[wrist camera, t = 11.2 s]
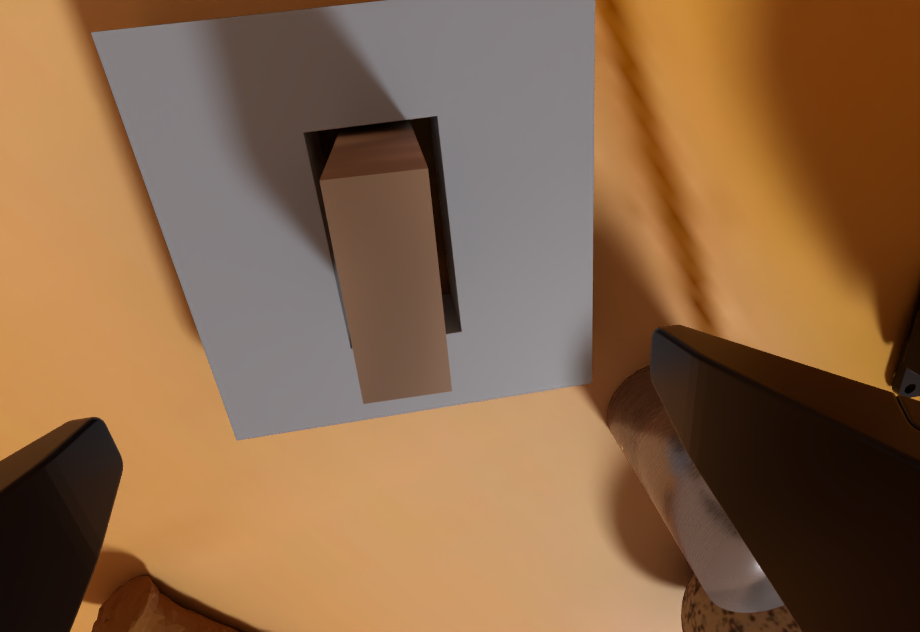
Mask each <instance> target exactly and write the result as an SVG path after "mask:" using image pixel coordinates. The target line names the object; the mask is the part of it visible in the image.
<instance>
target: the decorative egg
mask: <svg viewBox="0 0 920 632" xmlns="http://www.w3.org/2000/svg"><path fill="white" fill-rule="evenodd" d="M681 621H682V630H683V632H802V631H801V630H800V628H799V627H798V625H797V623H796V622H795V620H794V619H793V617H792V616H791V614H790V613H789V611H788V610H787V608H786V606H785V605H783V606H781V607H777V608H774V609H770V610H766V611H761V612H752V613H740V612H733V611H729V610H725V609H723V608H721V607H719V606H717V605H716V604H714V603H713V602H712V601H711V600H710V599H709V597H708V596H707V594H706V592H705V591H704V589H703V587H702V585H701V584H700V582H699V580H698V579H697V577H696V575H695V574H694V575H693V576H692V577H691V579H690V581H689V583H688V585H687V587H686V590H685V593H684V597H683V601H682V610H681Z"/></svg>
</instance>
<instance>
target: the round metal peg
mask: <svg viewBox="0 0 920 632" xmlns="http://www.w3.org/2000/svg"><path fill="white" fill-rule="evenodd" d="M607 422H608V426H609V429H610V431H611V433H612V434H613V436H614V438H615V440H616V441H617V443H618V445H619V446H620V448H621V450H622V451H623V453H624V455H625V456H626V458H627V460H628V462H629V463H630V465H631V467H632V468H633V470H634V472H635V473H636V475H637V477H638V479H639V480H640V482H641V484H642V485H643V487H644V489H645V490H646V492H647V494H648V496H649V497H650V499H651V501H652V502H653V504H654V506H655V507H656V509H657V511H658V512H659V514H660V516H661V518H662V519H663V521H664V523H665V524H666V526H667V528H668V529H669V531H670V533H671V535H672V536H673V538H674V540H675V541H676V543H677V545H678V546H679V548H680V550H681V552H682V553H683V555H684V557H685V558H686V560H687V562H688V563H689V565H690V567H691V569H692V570H693V572H694V574H695V575H696V577H697V579H698V580H699V582H700V584H701V585H702V587H703V589H704V591H705V592H706V594H707V596H708V597H709V599H710V600H711V601H712V602H713V603H714V604H716V605H717V606H719V607H721V608H723V609H725V610H729V611H733V612H740V613H752V612H761V611H766V610H770V609H774V608H777V607H781V606H783V605H784V603H783V602H782V600H781V599H780V597H779V596H778V594H777V592H776V591H775V589H774V588H773V586H772V585H771V583H770V582H769V580H768V579H767V577H766V575H765V574H764V572H763V571H762V569H761V568H760V566H759V565H758V563H757V562H756V560H755V558H754V557H753V555H752V554H751V552H750V551H749V549H748V548H747V546H746V544H745V543H744V541H743V540H742V538H741V537H740V535H739V534H738V532H737V531H736V529H735V527H734V526H733V524H732V523H731V521H730V520H729V518H728V517H727V515H726V514H725V512H724V510H723V509H722V507H721V506H720V504H719V503H718V501H717V500H716V498H715V496H714V495H713V493H712V492H711V490H710V489H709V487H708V486H707V484H706V483H705V481H704V479H703V478H702V476H701V475H700V473H699V472H698V470H697V469H696V467H695V465H694V464H693V462H692V460H691V459H690V457H689V456H688V454H687V452H686V450H685V448H684V446H683V444H682V442H681V440H680V438H679V436H678V434H677V432H676V430H675V428H674V426H673V424H672V422H671V420H670V418H669V416H668V414H667V412H666V410H665V408H664V406H663V404H662V402H661V399H660V397H659V395H658V393H657V391H656V389H655V387H654V385H653V383H652V380H651V375H650V366H648V367H646V368H643V369H641V370H639V371H638V372H636V373H634V374H633V375H631V376H630V377H629V378H628V379H626V380H625V381H624V382H623V383H622V384H621V385H620V386H619V388H618V389H617V390H616V392H615V393H614V395H613V397H612V399H611V401H610V404H609V407H608V412H607Z"/></svg>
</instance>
